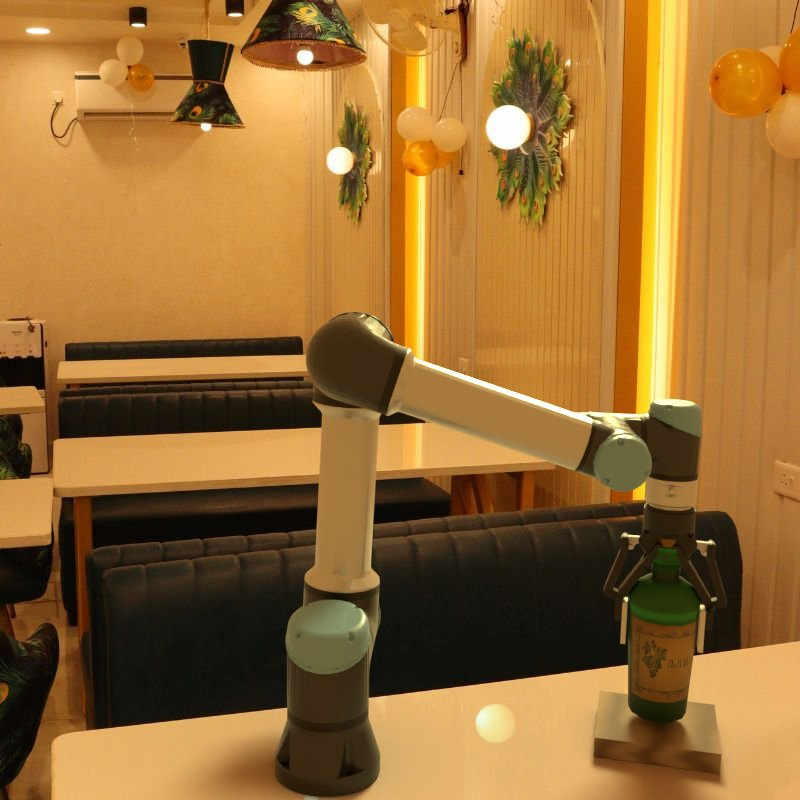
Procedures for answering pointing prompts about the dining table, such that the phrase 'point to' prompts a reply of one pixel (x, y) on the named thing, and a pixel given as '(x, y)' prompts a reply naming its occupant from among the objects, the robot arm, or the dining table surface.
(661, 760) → the walnut riser
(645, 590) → the bottle
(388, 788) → the dining table surface
